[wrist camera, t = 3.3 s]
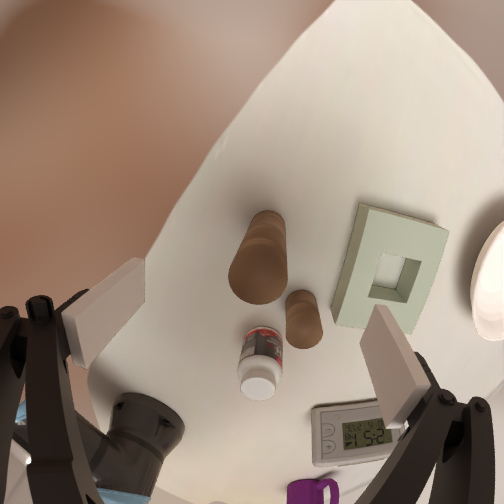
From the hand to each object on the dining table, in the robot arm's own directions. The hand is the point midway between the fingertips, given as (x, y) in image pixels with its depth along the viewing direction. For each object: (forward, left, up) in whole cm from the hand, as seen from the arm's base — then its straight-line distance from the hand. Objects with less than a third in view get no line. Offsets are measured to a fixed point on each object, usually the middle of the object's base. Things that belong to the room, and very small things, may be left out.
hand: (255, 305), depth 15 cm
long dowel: (0, 0, -19) cm, 19 cm away
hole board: (+15, -2, -19) cm, 25 cm away
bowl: (+36, +2, -19) cm, 41 cm away
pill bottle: (+2, -16, -19) cm, 25 cm away
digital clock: (+21, -29, -19) cm, 41 cm away
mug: (+23, -59, -19) cm, 66 cm away
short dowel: (+6, -9, -19) cm, 22 cm away
